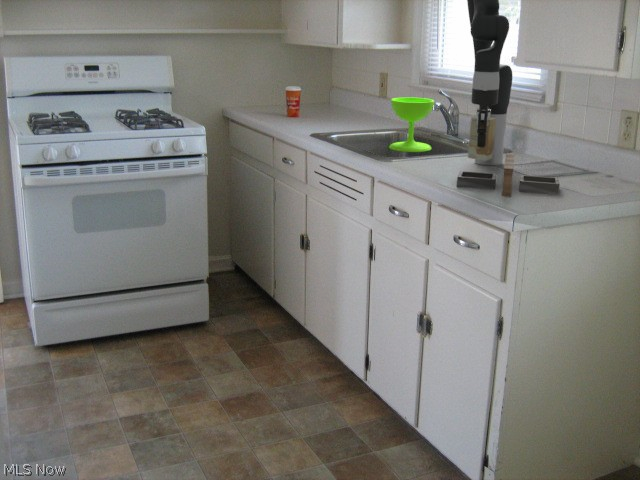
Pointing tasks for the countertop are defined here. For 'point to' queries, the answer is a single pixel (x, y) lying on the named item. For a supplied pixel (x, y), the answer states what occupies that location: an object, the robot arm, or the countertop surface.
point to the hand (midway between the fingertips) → (481, 144)
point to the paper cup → (293, 100)
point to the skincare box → (486, 151)
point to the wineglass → (411, 120)
